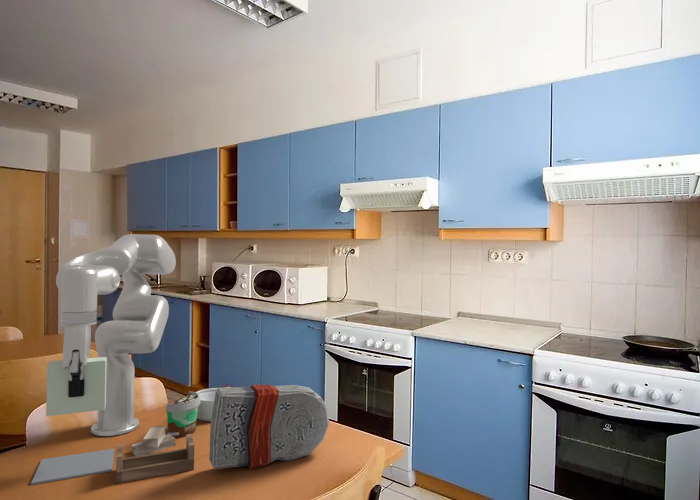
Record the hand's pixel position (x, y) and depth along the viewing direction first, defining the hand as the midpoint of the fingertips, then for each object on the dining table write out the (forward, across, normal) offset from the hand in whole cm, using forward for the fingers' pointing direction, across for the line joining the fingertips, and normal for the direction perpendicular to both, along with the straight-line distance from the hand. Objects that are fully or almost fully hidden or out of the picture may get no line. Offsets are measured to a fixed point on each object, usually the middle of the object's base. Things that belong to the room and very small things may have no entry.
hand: (77, 392), depth 109 cm
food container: (+18, -11, +26) cm, 34 cm away
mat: (+18, 0, 0) cm, 18 cm away
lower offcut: (+18, -3, +17) cm, 26 cm away
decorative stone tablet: (+18, +15, +44) cm, 50 cm away
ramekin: (+18, -22, +36) cm, 46 cm away
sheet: (+4, 0, 0) cm, 4 cm away
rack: (+18, +9, +18) cm, 27 cm away
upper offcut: (+16, -3, +18) cm, 24 cm away
